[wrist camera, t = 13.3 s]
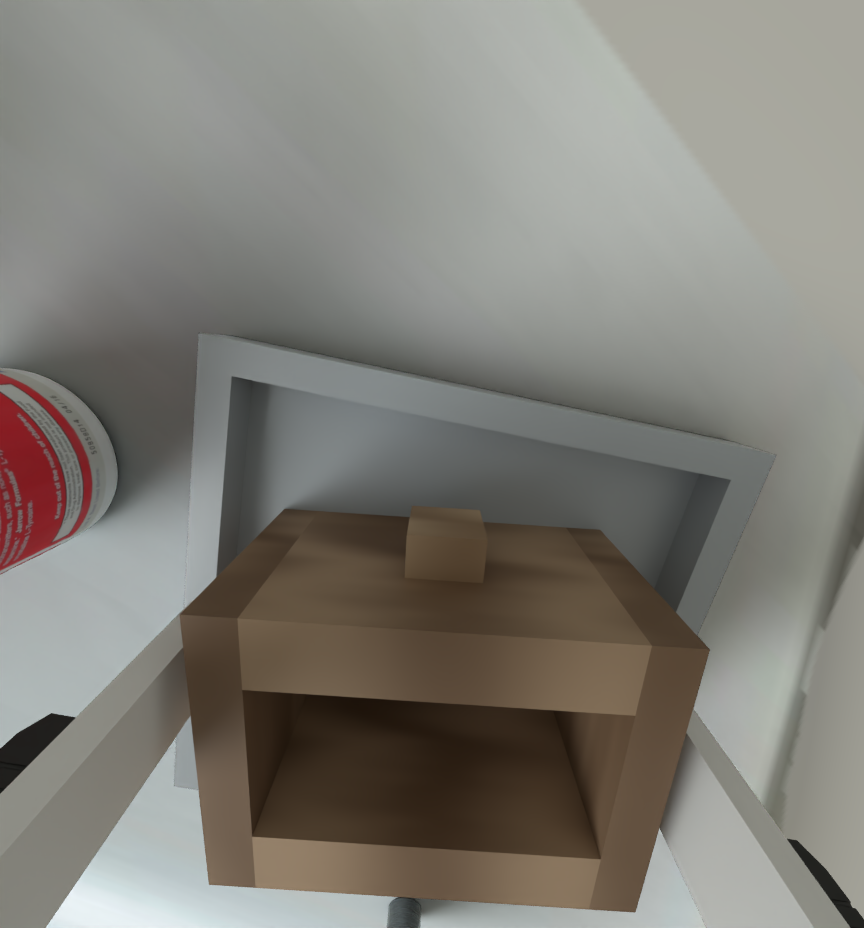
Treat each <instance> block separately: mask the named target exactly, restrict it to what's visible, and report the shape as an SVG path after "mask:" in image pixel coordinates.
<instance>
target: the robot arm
mask: <svg viewBox="0 0 864 928" xmlns="http://www.w3.org/2000/svg"><path fill="white" fill-rule="evenodd" d="M193 600H194V599H193ZM193 600H192V601H193ZM192 601H191V602H190V603H189V604H188V605H187V606H186V607H185V608H184V609H183V610H182V611H181V612H180V613H179V614H178V615H177V616H176V617H175V618H174V619H173V620H172V621H171V622H170V623H169V625H168V626H167V627H166V628H165V629H164V630H163V631H162V632H161V633H160V634H159V635H158V636H157V637H156V638H155V639H154V640H153V641H152V642H151V643H150V644H149V645H148V646H147V647H146V648H145V649H144V650H143V651H142V652H141V653H140V654H139V655H138V656H137V657H136V658H135V659H134V660H133V661H132V662H131V663H130V664H129V665H128V666H127V667H126V668H125V669H124V670H123V671H122V672H121V673H120V674H119V675H118V676H117V677H116V678H115V679H114V680H113V681H112V682H111V683H110V684H109V685H108V686H107V687H106V688H105V689H104V690H103V691H102V692H101V693H100V694H99V695H98V696H97V697H96V698H95V699H94V700H93V701H92V702H91V703H90V704H89V705H88V706H87V707H86V708H85V709H84V710H83V711H82V712H81V713H80V714H79V715H78V716H77V717H76V718H75V717H69V716H64V715H58V714H52V713H51V714H49V715H48V716H46V717H44V718H42V719H41V720H39V721H37V722H36V723H34V724H32V725H31V726H29V727H27V728H26V729H24V730H22V731H20V732H19V733H17V734H16V735H15V736H14V737H13V738H12V739H11V740H9V741H8V742H7V743H6V744H5V745H4V746H3V747H2V748H1V749H0V928H46V926H47V925H48V923H49V922H50V920H51V919H52V918H53V916H54V915H55V913H56V912H57V910H58V909H59V907H60V906H61V904H62V903H63V901H64V900H65V899H66V897H67V896H68V894H69V893H70V891H71V890H72V888H73V887H74V885H75V884H76V882H77V881H78V879H79V878H80V877H81V875H82V874H83V872H84V871H85V869H86V868H87V866H88V865H89V863H90V862H91V860H92V859H93V858H94V856H95V855H96V853H97V852H98V850H99V849H100V847H101V846H102V844H103V843H104V841H105V840H106V839H107V837H108V836H109V834H110V833H111V831H112V830H113V828H114V827H115V825H116V824H117V822H118V821H119V819H120V818H121V817H122V815H123V814H124V812H125V811H126V809H127V808H128V806H129V805H130V803H131V802H132V800H133V799H134V798H135V796H136V795H137V793H138V792H139V790H140V789H141V787H142V786H143V784H144V783H145V781H146V780H147V778H148V777H149V776H150V774H151V773H152V771H153V770H154V768H155V767H156V765H157V764H158V762H159V761H160V759H161V758H162V757H163V755H164V754H165V752H166V751H167V749H168V748H169V746H170V745H171V743H172V742H173V740H174V739H175V737H176V736H177V735H178V733H179V732H180V730H181V729H182V727H183V726H184V724H185V723H186V721H187V720H188V718H189V717H190V707H189V697H188V688H187V679H186V670H185V661H184V652H183V643H182V634H181V624H180V614H181V613H182V612H183V611H184V610H185V609H186V608H187V607H188V606H189V605H190V604H191V603H192ZM660 830H661V832H662V834H663V836H664V838H665V840H666V842H667V845H668V847H669V849H670V851H671V853H672V855H673V857H674V859H675V862H676V864H677V866H678V868H679V870H680V872H681V874H682V877H683V879H684V881H685V883H686V885H687V887H688V889H689V892H690V894H691V896H692V898H693V900H694V902H695V904H696V907H697V909H698V911H699V913H700V915H701V917H702V919H703V922H704V924H705V926H706V928H864V919H863V918H862V916H861V915H860V914H859V912H858V911H857V910H856V909H855V908H852V906H851V904H850V901H849V899H848V898H847V897H846V895H845V894H844V892H843V891H842V890H841V889H840V887H839V886H838V885H837V883H836V882H835V881H834V879H833V878H832V877H831V875H830V874H829V873H828V871H827V870H826V869H825V868H824V867H823V866H822V865H821V864H820V863H819V862H818V861H817V860H816V859H815V858H814V857H813V856H812V855H811V854H810V853H809V852H808V851H807V850H806V849H805V848H804V847H803V846H802V845H801V844H800V843H799V842H798V841H797V840H791V839H786V837H785V836H784V834H783V833H782V832H781V830H780V829H779V828H778V826H777V825H776V823H775V822H774V821H773V819H772V818H771V816H770V815H769V814H768V812H767V811H766V809H765V808H764V807H763V805H762V804H761V802H760V801H759V800H758V798H757V797H756V795H755V794H754V793H753V791H752V790H751V789H750V787H749V786H748V784H747V783H746V782H745V780H744V779H743V777H742V776H741V775H740V773H739V772H738V770H737V769H736V768H735V766H734V765H733V763H732V762H731V761H730V759H729V758H728V756H727V755H726V754H725V752H724V751H723V750H722V748H721V747H720V745H719V744H718V743H717V741H716V740H715V738H714V737H713V736H712V734H711V733H710V731H709V730H708V729H707V727H706V726H705V724H704V723H703V722H702V720H701V719H700V717H699V716H698V715H697V713H696V712H695V711H694V709H693V711H692V714H691V718H690V721H689V725H688V728H687V732H686V736H685V739H684V743H683V746H682V750H681V753H680V757H679V760H678V764H677V767H676V771H675V774H674V778H673V781H672V785H671V788H670V792H669V795H668V799H667V802H666V806H665V810H664V813H663V817H662V820H661V824H660Z"/></svg>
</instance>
